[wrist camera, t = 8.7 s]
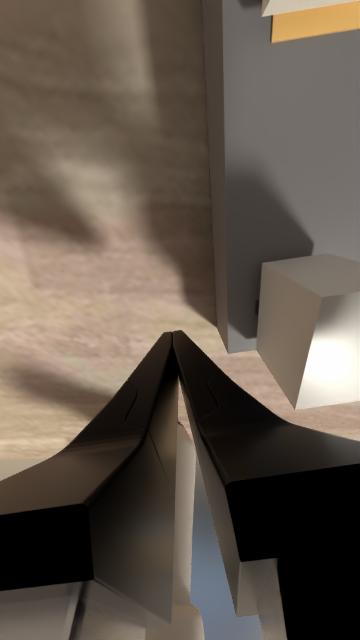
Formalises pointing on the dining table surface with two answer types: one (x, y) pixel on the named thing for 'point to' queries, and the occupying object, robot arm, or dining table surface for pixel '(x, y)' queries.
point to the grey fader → (311, 328)
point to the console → (279, 145)
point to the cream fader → (295, 5)
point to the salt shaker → (182, 550)
